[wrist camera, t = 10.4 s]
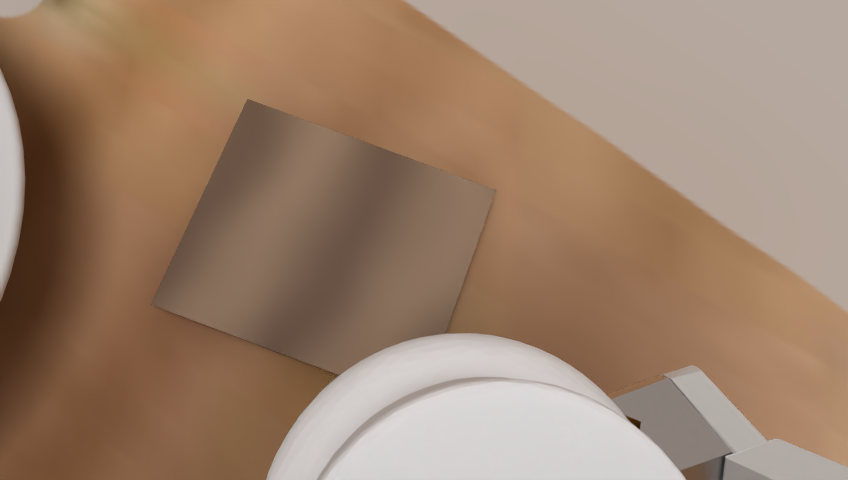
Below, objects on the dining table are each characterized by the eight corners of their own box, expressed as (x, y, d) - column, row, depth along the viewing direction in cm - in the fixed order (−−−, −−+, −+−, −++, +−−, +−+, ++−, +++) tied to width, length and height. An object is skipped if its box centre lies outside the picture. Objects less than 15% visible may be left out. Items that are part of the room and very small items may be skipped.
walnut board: (162, 309, 29) (150, 304, 28) (253, 112, 31) (247, 98, 30) (418, 404, 29) (420, 405, 27) (490, 199, 31) (496, 189, 30)
